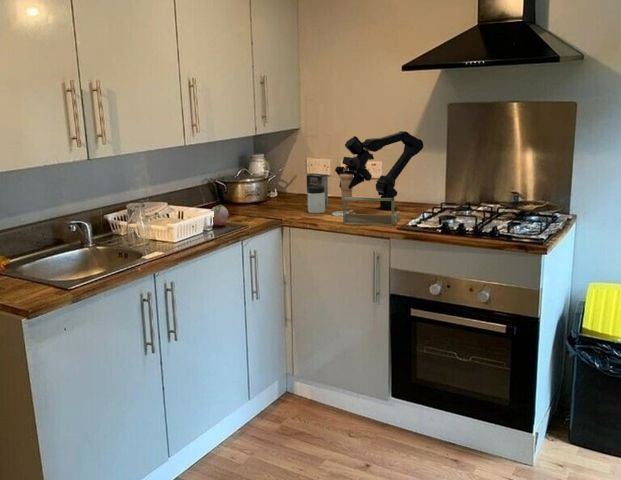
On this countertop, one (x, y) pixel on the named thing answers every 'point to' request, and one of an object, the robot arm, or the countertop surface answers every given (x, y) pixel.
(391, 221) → the box
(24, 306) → the countertop surface
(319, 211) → the jar
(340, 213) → the saucer
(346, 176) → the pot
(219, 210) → the decorative fruit
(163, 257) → the countertop surface
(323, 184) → the coffee box
